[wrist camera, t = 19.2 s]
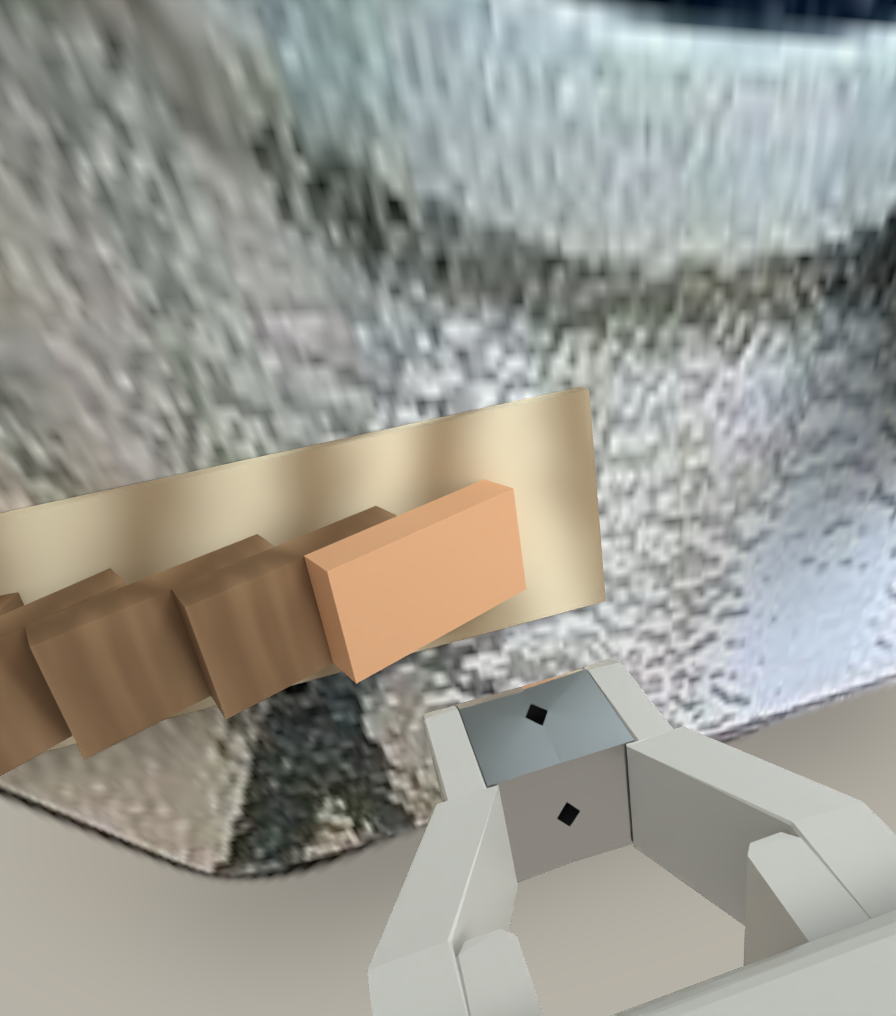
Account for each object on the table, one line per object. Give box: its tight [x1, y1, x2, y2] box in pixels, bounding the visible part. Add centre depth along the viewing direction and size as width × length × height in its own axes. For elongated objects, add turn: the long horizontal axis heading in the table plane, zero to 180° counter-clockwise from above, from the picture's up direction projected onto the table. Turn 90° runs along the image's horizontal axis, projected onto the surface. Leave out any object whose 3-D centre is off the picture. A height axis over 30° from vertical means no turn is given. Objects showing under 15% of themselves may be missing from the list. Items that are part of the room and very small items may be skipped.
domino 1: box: [0, 568, 126, 776], centre depth 25 cm, size 2×5×9 cm
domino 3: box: [171, 506, 397, 719], centre depth 27 cm, size 2×5×9 cm
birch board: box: [0, 387, 606, 751], centre depth 30 cm, size 27×11×1 cm, turn 100°
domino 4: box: [304, 479, 526, 684], centre depth 28 cm, size 2×5×9 cm
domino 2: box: [25, 534, 275, 759], centre depth 26 cm, size 2×5×9 cm
